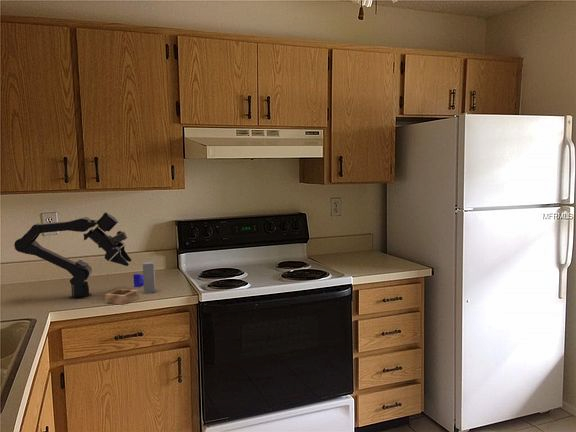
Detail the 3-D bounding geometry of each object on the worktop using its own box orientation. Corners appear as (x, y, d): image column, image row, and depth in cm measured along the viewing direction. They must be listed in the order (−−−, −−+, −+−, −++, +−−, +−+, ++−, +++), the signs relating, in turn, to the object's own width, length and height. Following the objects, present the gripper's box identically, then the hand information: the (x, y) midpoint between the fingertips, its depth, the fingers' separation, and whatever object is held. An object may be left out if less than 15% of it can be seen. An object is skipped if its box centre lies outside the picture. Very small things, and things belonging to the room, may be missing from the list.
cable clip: (143, 280, 234) (143, 268, 233) (152, 280, 233) (151, 268, 232) (131, 287, 222) (130, 274, 221) (140, 287, 221) (139, 274, 220)
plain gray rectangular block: (144, 293, 210) (142, 264, 209) (145, 290, 214) (143, 262, 213) (154, 292, 211) (153, 263, 209) (155, 289, 215) (154, 261, 214)
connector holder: (105, 302, 197) (104, 294, 196) (120, 296, 206) (119, 288, 205) (124, 304, 194) (123, 296, 193) (138, 298, 202) (138, 290, 202)
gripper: (111, 228, 198) (140, 253, 201) (118, 223, 216) (144, 246, 219) (92, 248, 197) (121, 273, 200) (100, 241, 215) (127, 263, 218)
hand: (129, 263), depth 210 cm, fingers open, 9 cm apart
